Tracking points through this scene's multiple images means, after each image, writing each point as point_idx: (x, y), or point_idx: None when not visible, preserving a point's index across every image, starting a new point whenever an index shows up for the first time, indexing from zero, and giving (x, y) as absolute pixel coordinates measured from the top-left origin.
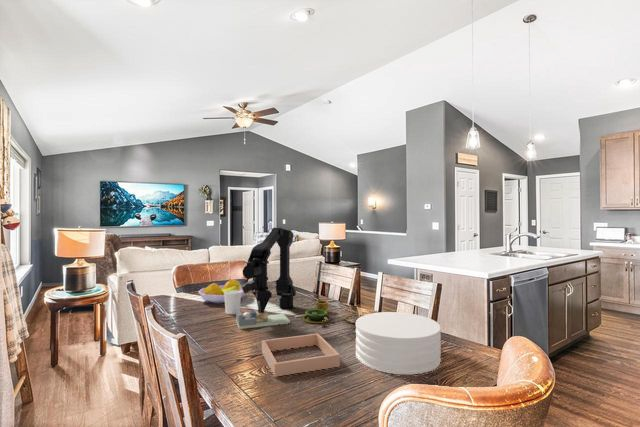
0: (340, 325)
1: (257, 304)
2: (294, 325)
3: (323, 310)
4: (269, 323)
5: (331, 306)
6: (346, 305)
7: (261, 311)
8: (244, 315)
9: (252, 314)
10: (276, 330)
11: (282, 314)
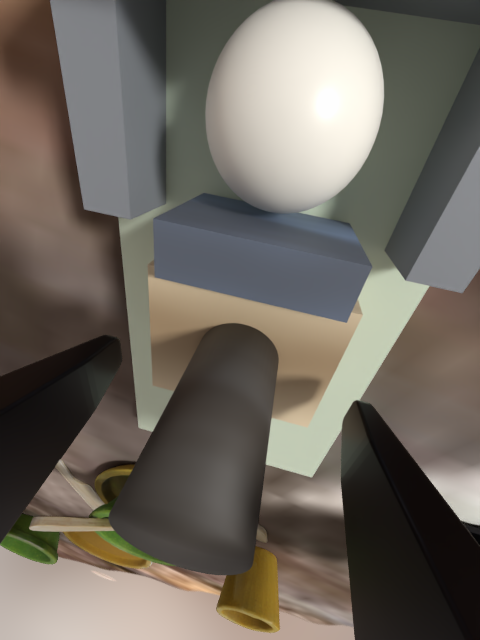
0: (69, 497)
1: (402, 448)
2: (104, 412)
3: (157, 560)
4: (129, 318)
5: (308, 596)
6: (284, 608)
7: (97, 341)
8: (238, 30)
9: (210, 219)
10: (25, 301)
11: (300, 467)
